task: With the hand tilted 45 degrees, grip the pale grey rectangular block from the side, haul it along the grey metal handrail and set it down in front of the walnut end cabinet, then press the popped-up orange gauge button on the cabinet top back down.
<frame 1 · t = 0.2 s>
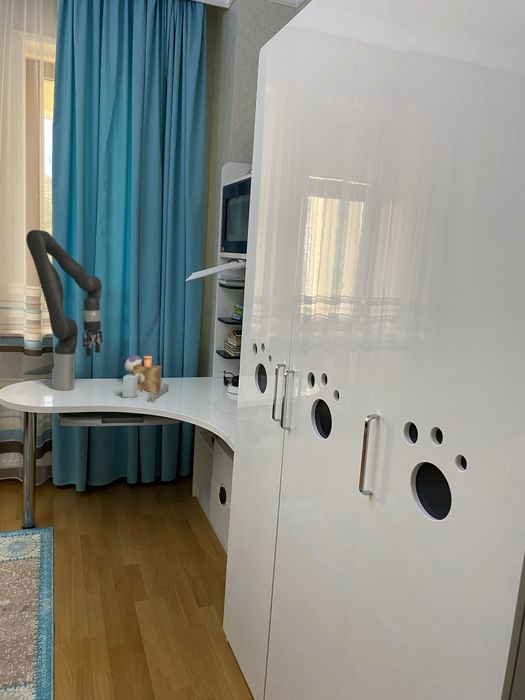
hand: (93, 354, 278), 18 cm above the table, tool pointing down, fingers open, 8 cm apart
end cabinet: (146, 390, 291), on the table
pale grey rectangular block: (129, 397, 274), on the table
toy: (133, 384, 301), on the table
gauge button: (147, 364, 289), point 13 cm above the table, slide at 0.0 cm
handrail: (158, 396, 280), on the table
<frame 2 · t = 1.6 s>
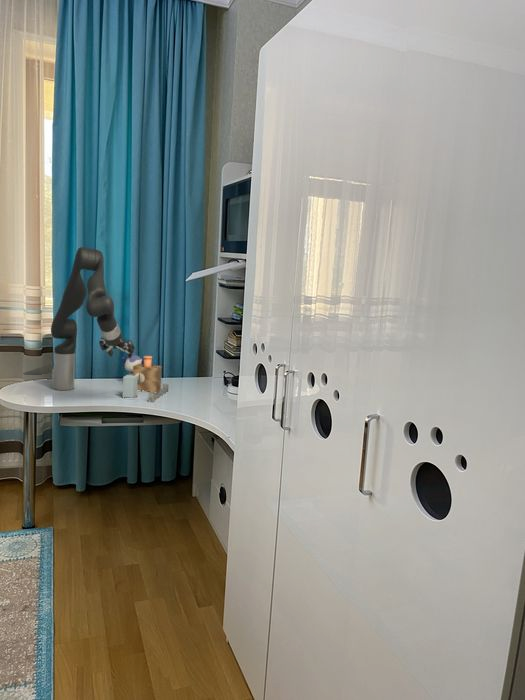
hand: (121, 355, 259), 22 cm above the table, tool tilted 45°, fingers open, 8 cm apart
nothing on the table moved.
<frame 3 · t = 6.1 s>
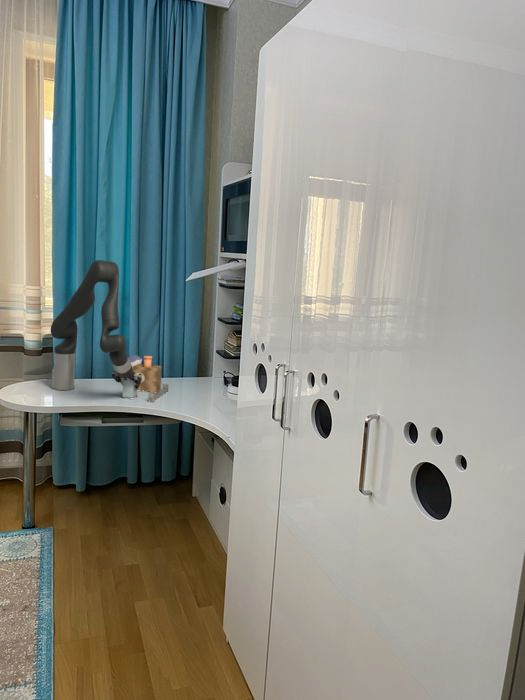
hand: (131, 386, 275), 5 cm above the table, tool tilted 45°, fingers closed on pale grey rectangular block, 5 cm apart
pale grey rectangular block: (129, 397, 274), on the table, touching gripper
everything else where it was.
when the fingers open (6 cm above the table, at t = 10.7 s): pale grey rectangular block drops 1 cm, on the table.
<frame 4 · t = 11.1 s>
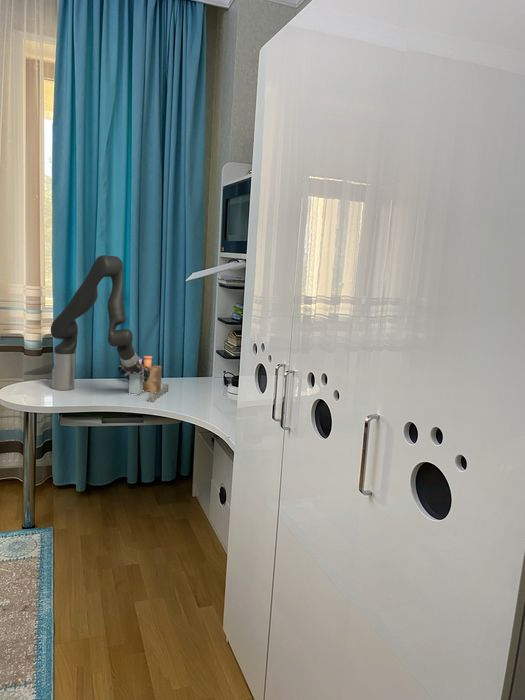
hand: (137, 379, 283), 7 cm above the table, tool tilted 45°, fingers open, 8 cm apart
pale grey rectangular block: (135, 393, 282), on the table
everything else where it was.
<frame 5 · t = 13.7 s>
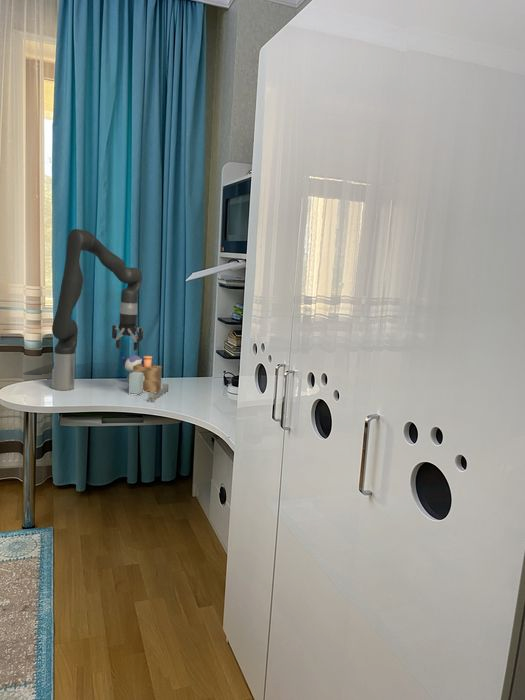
hand: (126, 349, 265), 23 cm above the table, tool pointing down, fingers open, 7 cm apart
nothing on the table moved.
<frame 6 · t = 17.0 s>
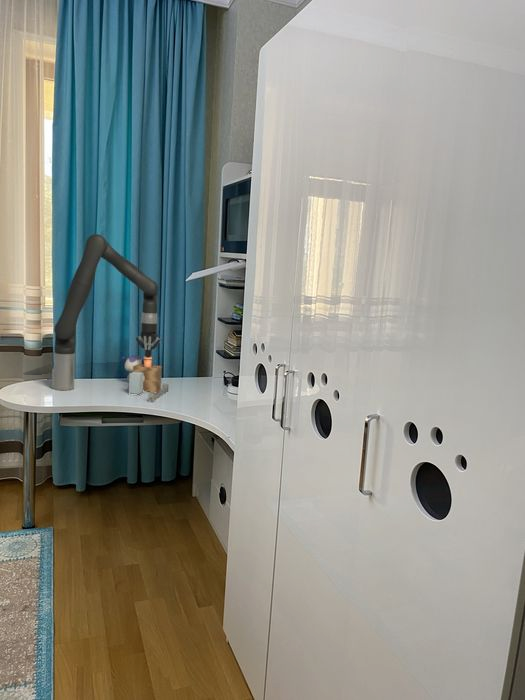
hand: (148, 357, 288), 16 cm above the table, tool pointing down, fingers closed
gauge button: (147, 365, 289), point 12 cm above the table, slide at 0.4 cm, touching gripper
everything else where it was.
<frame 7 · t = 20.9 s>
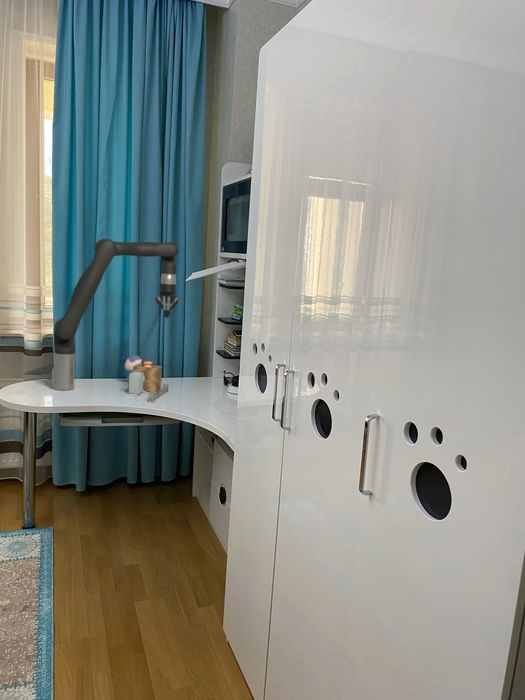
hand: (166, 317, 298), 35 cm above the table, tool pointing down, fingers closed
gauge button: (147, 370, 289), point 10 cm above the table, slide at 2.8 cm
everything else where it was.
at the end: pale grey rectangular block inside the target area (0.7 cm from its centre), on the table; pale grey rectangular block tilted 0°; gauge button slide at 2.8 cm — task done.
